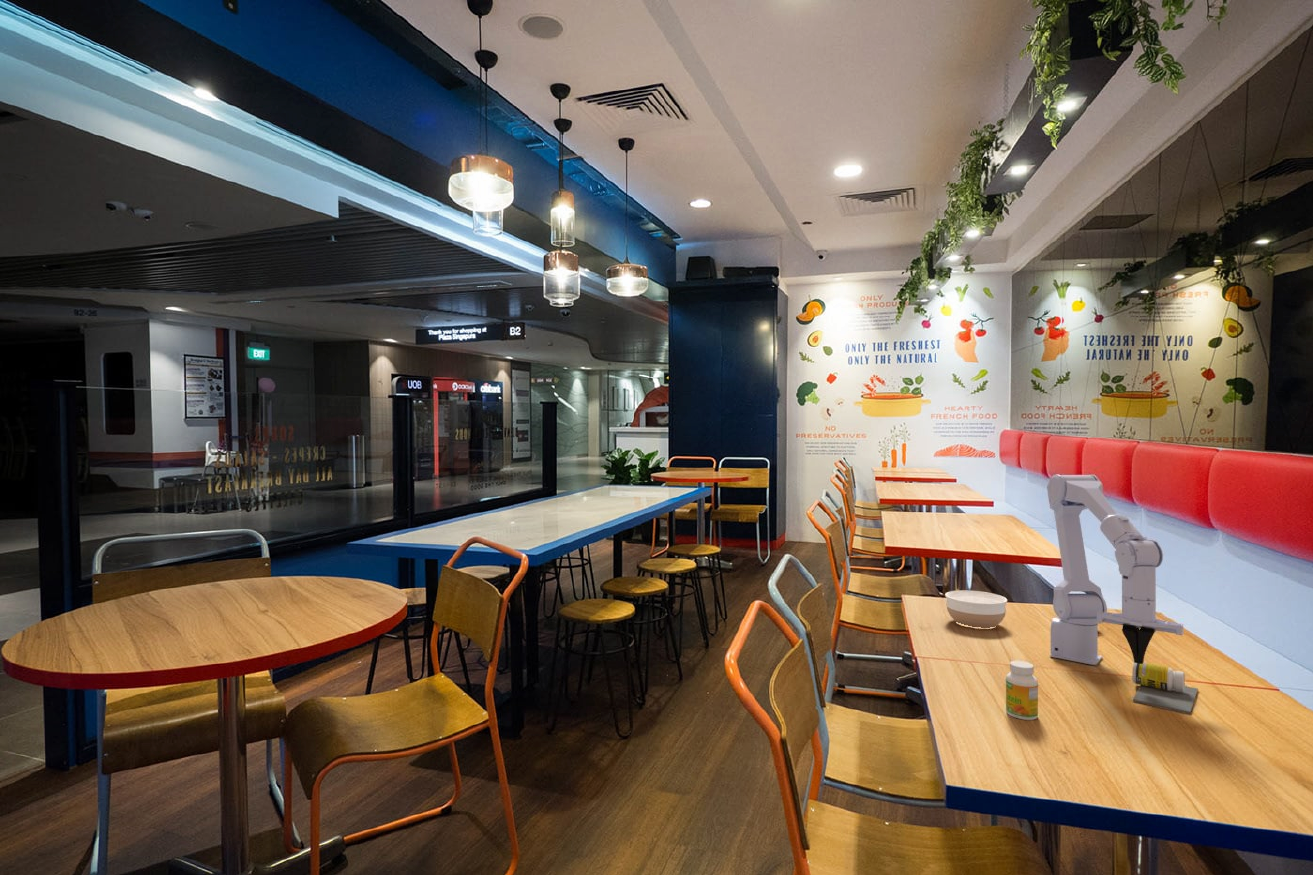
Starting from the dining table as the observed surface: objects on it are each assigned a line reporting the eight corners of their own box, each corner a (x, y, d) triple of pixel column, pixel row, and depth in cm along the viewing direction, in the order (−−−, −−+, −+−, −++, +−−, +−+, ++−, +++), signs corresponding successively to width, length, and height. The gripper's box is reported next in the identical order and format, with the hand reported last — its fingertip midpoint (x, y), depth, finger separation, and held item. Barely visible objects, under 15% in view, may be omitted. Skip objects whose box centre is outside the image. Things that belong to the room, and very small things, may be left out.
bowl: (953, 631, 181) (953, 602, 181) (938, 615, 197) (938, 589, 197) (1016, 633, 179) (1016, 604, 179) (996, 617, 194) (996, 591, 194)
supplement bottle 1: (999, 711, 128) (999, 661, 128) (1019, 707, 130) (1018, 657, 130) (1024, 722, 123) (1024, 670, 123) (1044, 717, 125) (1044, 666, 125)
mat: (1132, 701, 132) (1132, 699, 132) (1144, 680, 144) (1144, 677, 144) (1190, 714, 126) (1190, 711, 126) (1197, 690, 138) (1197, 688, 138)
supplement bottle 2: (1131, 678, 139) (1181, 689, 133) (1133, 657, 141) (1183, 666, 135) (1134, 686, 142) (1184, 697, 136) (1136, 665, 143) (1185, 675, 138)
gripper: (1093, 595, 140) (1094, 659, 140) (1180, 607, 130) (1180, 675, 130) (1100, 589, 146) (1100, 651, 146) (1184, 600, 136) (1184, 666, 136)
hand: (1138, 662), depth 138 cm, fingers closed
